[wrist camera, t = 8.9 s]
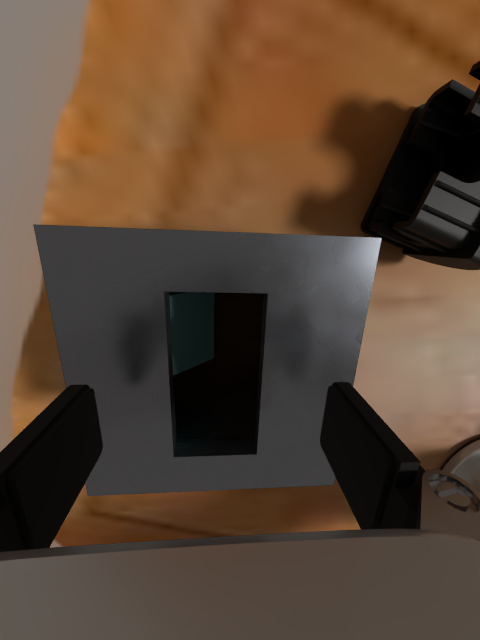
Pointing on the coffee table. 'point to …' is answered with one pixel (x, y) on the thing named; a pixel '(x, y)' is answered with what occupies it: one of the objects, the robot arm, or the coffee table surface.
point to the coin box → (213, 396)
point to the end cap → (434, 182)
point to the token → (191, 328)
